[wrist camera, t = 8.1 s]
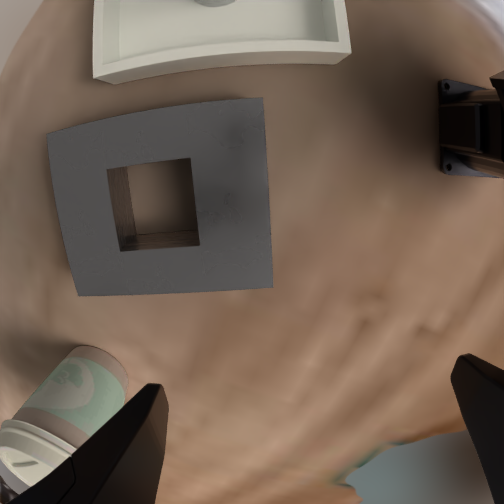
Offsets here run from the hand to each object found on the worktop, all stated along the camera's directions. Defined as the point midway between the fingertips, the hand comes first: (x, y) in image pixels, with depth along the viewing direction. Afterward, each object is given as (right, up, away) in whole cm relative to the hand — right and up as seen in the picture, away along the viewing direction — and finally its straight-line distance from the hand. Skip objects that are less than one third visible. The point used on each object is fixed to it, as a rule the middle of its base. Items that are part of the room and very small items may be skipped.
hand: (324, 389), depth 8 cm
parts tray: (-4, +20, +6) cm, 21 cm away
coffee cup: (-15, -6, +16) cm, 23 cm away
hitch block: (-7, +7, +11) cm, 15 cm away
